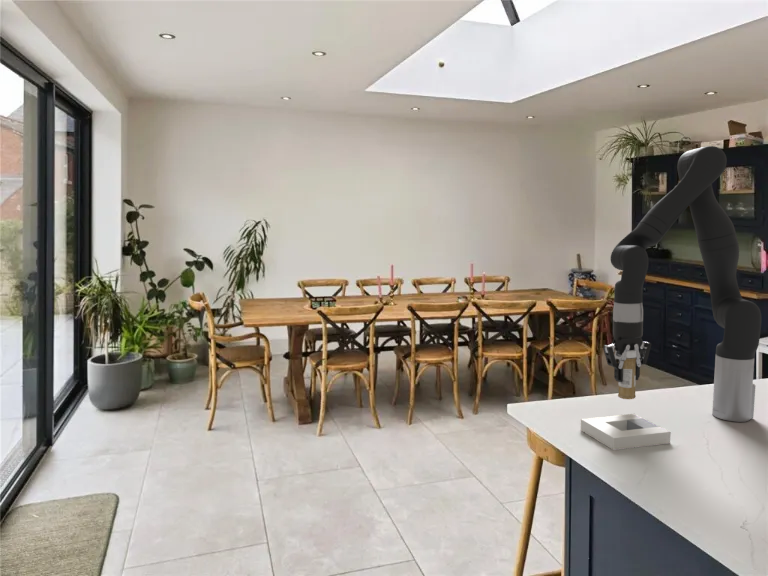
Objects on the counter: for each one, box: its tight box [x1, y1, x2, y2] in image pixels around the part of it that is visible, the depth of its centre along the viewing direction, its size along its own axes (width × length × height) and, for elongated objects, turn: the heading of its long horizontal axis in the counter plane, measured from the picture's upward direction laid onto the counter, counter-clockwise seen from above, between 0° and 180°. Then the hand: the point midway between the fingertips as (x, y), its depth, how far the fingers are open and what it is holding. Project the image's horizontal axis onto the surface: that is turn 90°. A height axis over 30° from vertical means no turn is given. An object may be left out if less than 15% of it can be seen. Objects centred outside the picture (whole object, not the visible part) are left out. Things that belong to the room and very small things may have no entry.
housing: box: [580, 413, 672, 451], centre depth 151 cm, size 16×14×3 cm
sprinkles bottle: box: [617, 350, 637, 400], centre depth 162 cm, size 5×5×14 cm
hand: (626, 380), depth 162 cm, fingers closed on sprinkles bottle, 4 cm apart
